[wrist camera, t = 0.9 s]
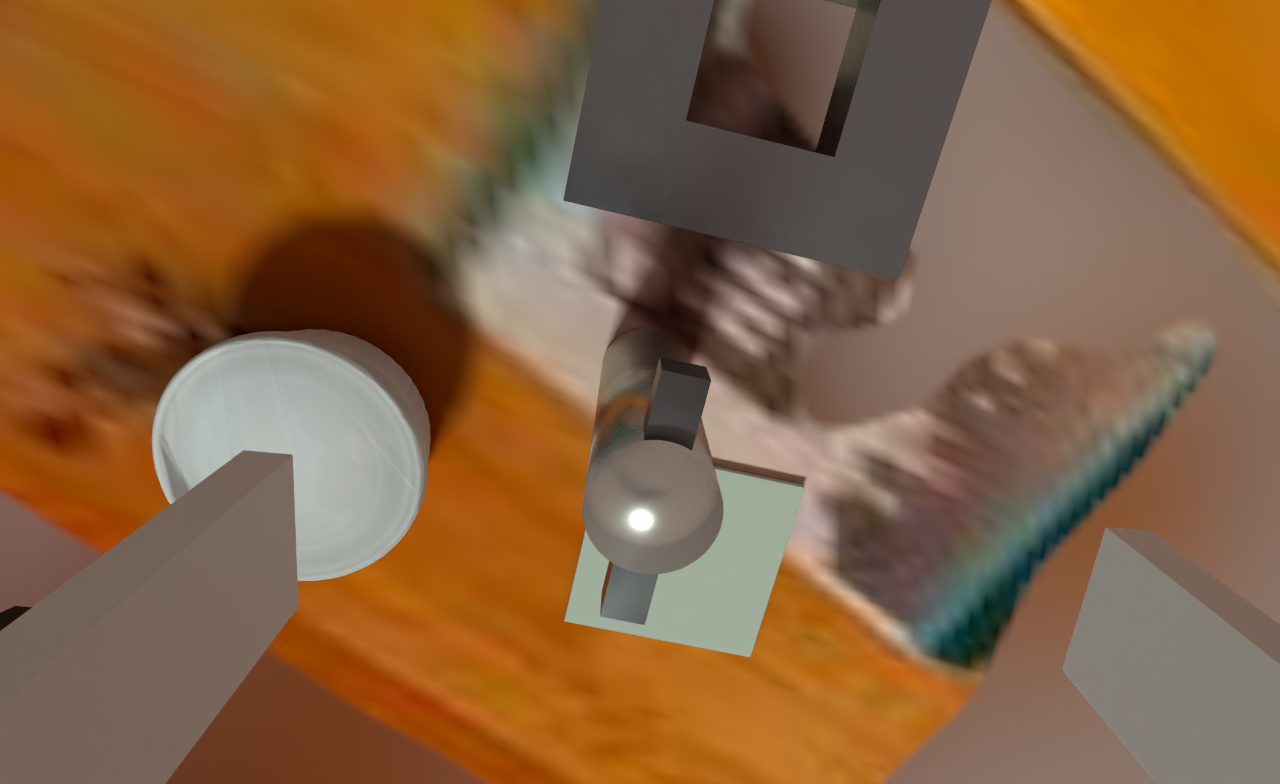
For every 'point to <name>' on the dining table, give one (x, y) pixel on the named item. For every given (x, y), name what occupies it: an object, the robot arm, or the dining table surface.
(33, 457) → the dining table surface
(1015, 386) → the dining table surface
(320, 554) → the ramekin
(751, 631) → the rubber mat
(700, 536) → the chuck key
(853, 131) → the plate
